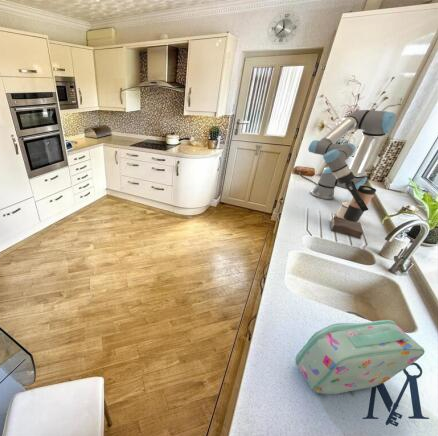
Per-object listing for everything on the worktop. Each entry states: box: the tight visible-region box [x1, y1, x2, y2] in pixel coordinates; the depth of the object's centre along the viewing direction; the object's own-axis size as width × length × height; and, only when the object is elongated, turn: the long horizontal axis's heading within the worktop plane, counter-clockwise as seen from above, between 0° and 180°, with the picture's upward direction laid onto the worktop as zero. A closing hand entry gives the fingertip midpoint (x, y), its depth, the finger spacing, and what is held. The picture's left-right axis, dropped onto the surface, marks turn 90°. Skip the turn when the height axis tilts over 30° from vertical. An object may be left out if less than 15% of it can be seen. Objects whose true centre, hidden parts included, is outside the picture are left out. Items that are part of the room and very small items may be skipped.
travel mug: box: [344, 185, 377, 222], centre depth 135 cm, size 8×8×20 cm
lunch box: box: [294, 319, 426, 396], centre depth 64 cm, size 27×10×21 cm, turn 99°
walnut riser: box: [330, 215, 364, 239], centre depth 143 cm, size 14×14×4 cm
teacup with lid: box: [335, 200, 352, 219], centre depth 156 cm, size 12×9×12 cm
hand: (364, 207), depth 134 cm, fingers closed on travel mug, 8 cm apart
